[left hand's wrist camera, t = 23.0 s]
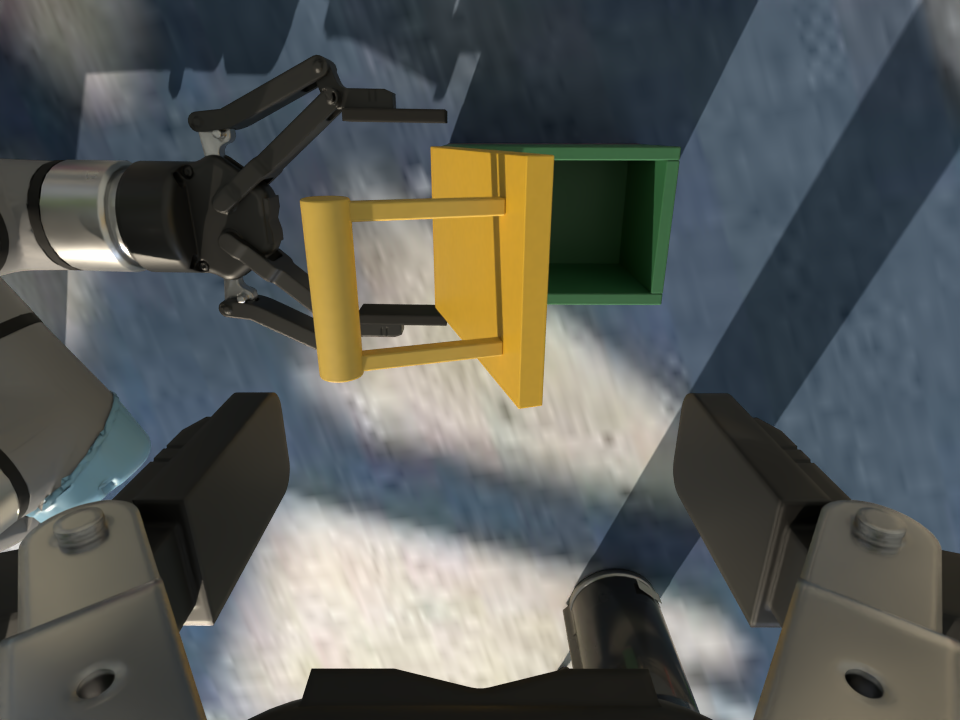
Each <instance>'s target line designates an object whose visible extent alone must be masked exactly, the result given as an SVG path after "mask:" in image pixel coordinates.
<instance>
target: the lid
mask: <svg viewBox="0 0 960 720" xmlns="http://www.w3.org/2000/svg"><path fill="white" fill-rule="evenodd" d="M553 172H554V155H548V154H535V153H523V152H511V151H498V150H486V149H474V148H462V147H449V146H431V175H432V198H427V199H394V200H361V201H350V199H349V198H348V197H344V196H313V197H305V198H302V199H300V206H301V215H302V223H303V232H304V241H305V250H306V258H307V267H308V276H309V285H310V293H311V302H312V311H313V320H314V328H315V337H316V346H317V355H318V363H319V372H320V377H321V378H322V379H323V380H325V381H328V382H348V381H352V380H355V379H357V378H359V377H361V376H362V375H363V373H364V371H369V370H378V369H387V368H396V367H405V366H413V365H422V364H431V363H440V362H449V361H457V360H466V359H475V358H477V359H478V360H479V361H480V362H481V364H482V365H483V366H484V367H485V368H486V370H487V371H488V372H489V373H490V374H491V376H492V377H493V378H494V379H495V381H496V382H497V383H498V384H499V385H500V387H501V388H502V389H503V390H504V391H505V393H506V394H507V395H508V396H509V398H510V399H511V400H512V401H513V402H514V404H515V405H516V406H517V407H518V408H519V409H521V408H528V407H535V406H541V405H542V398H543V377H544V356H545V336H546V315H547V295H548V274H549V254H550V233H551V213H552V192H553ZM412 219H433V245H434V279H435V308H436V309H437V310H438V311H439V313H440V314H441V315H442V316H443V317H444V319H445V320H446V321H447V322H448V323H449V325H450V326H451V327H452V328H453V330H454V331H455V332H456V333H457V334H458V336H459V337H460V338H461V339H462V340H461V341H451V342H441V343H432V344H422V345H412V346H403V347H393V348H383V349H373V350H364V351H362V343H361V330H360V318H359V306H358V294H357V282H356V269H355V257H354V245H353V233H352V222H362V221H387V220H412Z"/></svg>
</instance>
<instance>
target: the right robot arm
mask: <svg viewBox="0 0 960 720" xmlns="http://www.w3.org/2000/svg"><path fill="white" fill-rule="evenodd" d="M316 88H319V90H320V94H319V95H318V96H317V97H316V98H315V99H314V100H313V101H312V102H311V103H310V104H309V105H308V106H307V107H306V108H305V109H304V110H303V111H302V112H301V113H300V114H299V115H298V116H297V117H296V118H295V119H294V120H293V121H292V122H291V123H290V124H289V125H288V126H287V127H286V128H285V129H284V130H283V131H282V132H281V133H280V134H279V135H278V136H277V137H276V138H275V139H274V140H273V141H272V142H271V143H270V144H269V145H268V146H267V147H266V148H265V149H264V150H263V151H262V152H261V153H260V154H259V155H258V156H257V157H255V158H253V159H252V160H251V161H250V162H249V163H248V164H247V165H246V166H245V167H243V166H242V165H241V164H239V163H238V162H236V161H235V160H233V159H232V158H231V157H229V156H227V155H225V148H226V146H227V145H228V144H230V143H232V142H233V141H234V140H235V138H236V132H235V130H238V129H242V128H245V127H248V126H250V125H252V124H254V123H256V122H257V121H259V120H261V119H263V118H264V117H266V116H268V115H270V114H272V113H273V112H275V111H277V110H279V109H280V108H282V107H284V106H286V105H288V104H289V103H291V102H293V101H295V100H296V99H298V98H300V97H302V96H304V95H305V94H307V93H309V92H311V91H312V90H314V89H316ZM341 112H342V119H343V121H351V122H407V123H447V111H446V110H445V109H396V98H395V94H394V93H392V92H390V91H388V90H385V89H359V88H345V87H344V86H343V85H342V83H341V81H340V79H339V76H338V74H337V68H336V65H335V64H334V63H333V62H332V61H330V60H328V59H326V58H324V57H322V56H320V55H314V56H312V57H310V58H308V59H307V60H305V61H303V62H301V63H300V64H298V65H296V66H294V67H293V68H291V69H289V70H287V71H286V72H284V73H282V74H281V75H279V76H277V77H275V78H274V79H272V80H270V81H268V82H267V83H265V84H263V85H261V86H260V87H258V88H256V89H254V90H253V91H251V92H249V93H247V94H246V95H244V96H242V97H240V98H239V99H237V100H235V101H233V102H232V103H230V104H228V105H226V106H225V107H223V108H221V109H215V110H206V111H197V112H193V113H191V114H190V115H189V118H188V123H189V125H190V127H191V128H192V129H193V130H194V131H196V132H199V135H200V139H201V143H202V147H203V150H204V154H205V157H204V158H202V159H201V160H199V161H196V162H185V161H137V162H135V163H131V162H129V161H116V160H55V161H44V160H20V159H0V276H3V275H6V274H10V273H13V272H19V271H27V270H89V271H124V272H141V271H145V270H149V271H152V272H194V273H213V274H216V275H218V276H220V277H222V278H224V287H225V300H224V301H223V302H221V303H220V305H219V311H220V313H221V314H222V315H224V316H226V317H231V318H240V319H248V320H252V321H254V322H257V323H259V324H261V325H263V326H265V327H267V328H270V329H272V330H274V331H276V332H278V333H281V334H283V335H285V336H287V337H289V338H291V339H294V340H296V341H298V342H300V343H302V344H305V345H307V346H309V347H311V348H313V349H315V350H317V346H316V337H315V328H314V320H313V318H312V317H310V316H308V315H306V314H304V313H302V312H299V311H297V310H295V309H293V308H291V307H289V306H287V305H284V304H282V303H280V302H278V301H276V300H274V299H271V298H269V297H266V296H262V295H258V293H257V290H256V289H255V288H253V287H251V286H248V285H247V284H246V283H245V282H244V280H243V276H244V275H246V274H248V273H249V272H250V271H251V270H253V271H254V272H255V273H256V274H258V275H259V276H260V277H262V278H263V279H264V280H266V281H268V282H272V283H274V284H276V285H277V286H278V287H280V288H281V289H282V290H284V291H285V292H286V293H287V294H289V295H290V296H291V297H293V298H294V299H295V300H297V301H298V302H299V303H301V304H302V305H303V306H304V307H306V308H307V309H308V310H310V311H311V312H312V313H313V311H312V302H311V293H310V285H309V276H308V274H307V273H306V272H304V271H303V270H302V269H301V268H299V267H298V266H297V265H295V264H294V263H293V260H292V259H291V258H290V257H289V256H288V255H287V254H285V253H284V252H283V251H282V250H280V249H279V246H280V243H281V240H283V231H282V227H281V224H280V222H279V219H278V214H279V207H280V205H279V196H278V195H275V193H274V191H273V189H272V188H271V187H270V185H269V184H270V183H271V182H272V181H273V180H274V179H275V178H276V177H277V176H278V175H279V174H280V173H281V172H282V171H283V169H284V168H285V167H286V166H287V165H288V164H289V163H290V162H291V161H292V160H293V159H294V158H295V157H296V156H297V155H298V154H299V153H300V152H301V151H302V150H303V149H304V148H305V147H306V146H307V145H308V144H309V143H310V142H311V141H312V140H313V139H314V138H315V137H317V136H318V135H319V134H320V133H321V132H322V131H323V130H324V129H325V128H326V127H327V126H328V125H329V124H330V123H331V122H332V121H333V120H334V119H335V118H336V117H337V116H338V115H339V114H340V113H341ZM359 318H360V330H361V337H364V336H366V337H396V336H399V335H402V332H403V330H404V325H440V326H447V321H446V320H445V319H444V317H443V316H442V315H441V314H440V313H439V311H438V310H437V309H436V308H435V305H405V304H363V305H362V307H361V308H360V310H359ZM150 450H151V441H150V438H149V436H148V435H147V434H146V432H145V431H144V430H143V429H142V428H141V426H140V425H139V424H138V423H137V422H136V420H135V419H134V418H133V417H132V416H131V414H130V413H129V412H128V411H127V410H126V408H125V407H124V406H123V405H122V404H121V402H120V401H119V398H118V397H117V395H116V394H115V393H113V392H112V391H109V390H108V389H107V388H106V387H105V386H104V385H103V384H102V383H101V382H100V381H99V380H98V379H97V378H96V377H95V376H94V375H93V374H92V373H91V372H90V371H89V370H88V369H87V368H86V367H85V365H84V364H83V363H82V362H81V361H80V360H79V359H78V358H77V357H76V356H75V355H74V354H73V353H72V352H71V351H70V350H69V349H68V348H67V347H66V346H65V345H64V344H63V343H62V342H61V341H60V340H59V339H58V338H57V337H56V336H55V335H54V334H53V333H52V332H51V331H50V330H49V329H48V328H47V327H46V326H45V325H44V324H43V322H42V321H41V320H40V319H39V318H38V317H37V316H36V315H35V313H34V312H33V311H32V310H31V309H30V308H29V307H28V306H27V305H26V304H25V302H24V301H23V300H22V299H21V298H20V297H19V296H18V295H17V294H16V293H15V292H14V291H13V290H12V289H11V288H10V287H9V285H8V284H7V283H6V282H5V281H4V280H3V279H2V278H1V277H0V552H1V551H3V550H5V549H7V548H10V547H12V546H14V545H15V544H17V543H19V542H20V541H22V540H23V539H24V538H25V536H26V535H27V534H28V533H29V532H30V531H31V530H32V529H34V528H35V527H36V526H38V525H39V524H40V523H42V522H44V521H45V520H47V519H48V518H50V517H52V516H54V515H56V514H58V513H60V512H63V511H65V510H67V509H70V508H73V507H76V506H79V505H82V504H86V503H90V502H95V501H100V500H101V499H103V498H104V497H105V496H106V495H107V494H108V493H109V492H111V491H112V490H113V489H114V488H116V487H117V486H119V485H120V484H122V483H123V482H124V481H125V480H126V479H128V478H129V477H130V476H131V475H132V474H133V473H134V472H135V471H136V470H137V469H138V468H139V467H140V466H141V465H142V464H143V463H144V462H145V460H146V459H147V457H148V456H149V453H150Z"/></svg>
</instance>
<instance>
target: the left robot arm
mask: <svg viewBox="0 0 960 720" xmlns="http://www.w3.org/2000/svg"><path fill="white" fill-rule="evenodd" d="M289 473H290V464H289V456H288V449H287V442H286V436H285V429H284V422H283V415H282V409H281V403H280V400H279V397H278V396H277V394H276V393H234V394H233V395H231V397H230V398H229V399H228V400H227V401H226V402H225V403H224V404H223V405H222V406H221V407H220V408H219V409H218V410H217V411H216V412H215V413H214V414H213V415H212V416H211V417H205V418H203V419H201V420H200V421H198V422H196V423H194V424H192V425H191V426H189V427H187V428H185V429H183V430H182V431H181V432H180V433H179V434H178V435H177V436H176V437H175V438H174V439H173V440H172V441H171V442H170V443H169V444H168V445H167V448H166V449H163V450H162V451H161V452H160V453H159V454H158V455H157V456H156V457H155V458H154V461H153V462H150V463H149V464H148V465H147V466H146V467H145V468H144V469H143V470H141V471H140V472H139V473H138V474H137V475H136V476H135V477H134V478H133V479H132V480H131V481H130V482H129V483H128V484H127V485H126V486H125V487H124V488H123V489H122V490H121V491H120V492H119V493H118V494H117V495H116V496H115V497H114V498H113V499H112V500H103V501H95V502H90V503H86V504H82V505H79V506H76V507H73V508H70V509H67V510H65V511H63V512H60V513H58V514H56V515H54V516H52V517H50V518H48V519H47V520H45V521H44V522H42V523H40V524H39V525H38V526H36V527H35V528H34V529H32V530H31V531H30V532H29V533H28V534H27V535H26V536H25V538H24V539H23V540H22V542H21V544H20V546H19V549H18V550H13V551H7V552H2V553H0V720H207V719H206V716H205V712H204V709H203V706H202V703H201V700H200V697H199V693H198V690H197V687H196V684H195V681H194V678H193V675H192V671H191V668H190V665H189V662H188V659H187V656H186V652H185V649H184V646H183V643H182V640H181V637H180V634H179V632H180V630H181V628H182V627H183V625H214V623H215V621H216V620H217V618H218V616H219V614H220V612H221V610H222V609H223V607H224V605H225V603H226V601H227V599H228V598H229V596H230V594H231V592H232V590H233V588H234V587H235V585H236V583H237V581H238V579H239V577H240V575H241V574H242V572H243V570H244V568H245V566H246V564H247V563H248V561H249V559H250V557H251V555H252V553H253V552H254V550H255V548H256V546H257V544H258V542H259V541H260V539H261V537H262V535H263V533H264V531H265V529H266V528H267V526H268V524H269V522H270V520H271V518H272V517H273V515H274V513H275V511H276V509H277V507H278V506H279V504H280V502H281V500H282V498H283V496H284V494H285V492H286V490H287V486H288V482H289ZM673 475H674V483H675V487H676V491H677V493H678V496H679V497H680V499H681V501H682V503H683V505H684V507H685V508H686V510H687V512H688V514H689V516H690V517H691V519H692V521H693V523H694V525H695V527H696V528H697V530H698V532H699V534H700V536H701V537H702V539H703V541H704V543H705V545H706V547H707V548H708V550H709V552H710V554H711V556H712V557H713V559H714V561H715V563H716V565H717V566H718V568H719V570H720V572H721V574H722V576H723V577H724V579H725V581H726V583H727V585H728V586H729V588H730V590H731V592H732V594H733V596H734V597H735V599H736V601H737V603H738V605H739V606H740V608H741V610H742V612H743V614H744V616H745V617H746V619H747V621H748V623H749V625H750V626H751V627H782V630H781V634H780V637H779V640H778V643H777V646H776V649H775V652H774V656H773V659H772V662H771V665H770V668H769V671H768V675H767V678H766V681H765V684H764V687H763V690H762V693H761V697H760V700H759V703H758V706H757V709H756V712H755V716H754V719H753V720H960V554H959V553H954V552H948V551H944V550H941V546H940V544H939V542H938V540H937V539H936V538H935V536H934V535H933V534H932V533H931V532H930V531H929V530H928V529H926V528H925V527H924V526H922V525H921V524H920V523H918V522H916V521H915V520H913V519H912V518H910V517H908V516H906V515H904V514H902V513H900V512H897V511H895V510H893V509H890V508H887V507H884V506H881V505H878V504H874V503H870V502H865V501H857V500H851V499H850V498H849V497H848V496H847V495H846V494H845V493H844V492H843V491H842V490H841V489H840V488H839V487H838V486H837V485H836V484H835V483H834V482H833V481H832V480H831V479H830V478H829V477H828V476H827V475H826V474H825V473H824V472H823V471H822V470H821V469H820V468H819V467H818V466H816V465H815V464H814V463H811V462H810V459H809V458H808V457H807V456H806V455H805V454H804V453H803V452H802V451H801V450H797V446H796V445H795V444H794V443H793V442H792V441H791V440H790V439H789V438H788V437H787V436H786V435H785V434H784V433H783V432H782V431H780V430H779V429H777V428H775V427H773V426H771V425H769V424H768V423H766V422H764V421H762V420H760V419H759V418H752V417H751V416H750V415H749V414H748V413H747V411H746V410H745V409H744V408H743V407H742V406H741V405H740V404H739V403H738V402H737V401H736V400H735V399H734V398H733V397H732V396H731V395H730V394H728V393H689V394H687V395H686V397H685V398H684V401H683V404H682V410H681V416H680V423H679V430H678V436H677V443H676V450H675V456H674V464H673ZM658 601H659V602H660V603H661V600H660V598H659V595H658V593H656V592H655V591H654V589H653V587H652V585H651V584H650V583H649V581H648V580H646V579H645V578H644V577H642V576H641V575H639V574H637V573H634V572H632V571H628V570H621V569H612V570H605V571H601V572H598V573H595V574H593V575H591V576H589V577H587V578H586V579H584V580H583V581H582V582H580V583H579V584H578V585H577V587H576V588H575V589H574V591H573V592H572V594H571V597H570V601H569V605H568V607H566V608H565V609H564V610H563V615H564V620H565V626H566V632H567V638H568V643H569V649H570V655H571V661H572V666H573V669H569V668H568V667H563V668H561V669H559V670H558V671H554V672H550V673H546V674H542V675H538V676H534V677H530V678H526V679H522V680H518V681H513V682H509V683H505V684H501V685H497V686H493V687H489V688H471V687H467V686H463V685H459V684H455V683H451V682H447V681H442V680H438V679H434V678H430V677H426V676H422V675H418V674H414V673H410V672H406V671H402V670H398V669H311V672H310V675H309V679H308V682H307V685H306V688H305V691H304V694H303V698H302V699H299V700H295V701H291V702H288V703H286V704H283V705H280V706H277V707H274V708H272V709H269V710H267V711H265V712H263V713H261V714H258V715H256V716H254V717H252V718H250V719H248V720H712V719H710V718H708V717H706V716H704V715H702V714H700V712H699V710H698V707H697V704H696V702H695V699H694V696H693V694H692V691H691V689H690V686H689V683H688V681H687V678H686V675H685V673H684V670H683V667H682V665H681V662H680V659H679V657H678V654H677V651H676V649H675V646H674V644H673V641H672V638H671V636H670V633H669V630H668V628H667V625H666V622H665V620H664V617H663V614H662V612H661V609H660V605H659V603H658ZM661 604H662V603H661Z"/></svg>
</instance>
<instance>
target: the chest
mask: <svg viewBox="0 0 960 720" xmlns="http://www.w3.org/2000/svg"><path fill="white" fill-rule="evenodd" d="M444 146H449V147H462V148H474V149H486V150H498V151H511V152H523V153H535V154H548V155H554V172H553V192H552V213H551V233H550V254H549V274H548V295H547V304H573V305H660V304H661V301H662V293H663V286H664V278H665V270H666V263H667V255H668V247H669V239H670V231H671V223H672V216H673V208H674V200H675V192H676V184H677V176H678V169H679V161H678V160H679V159H680V152H681V147H676V146H660V145H645V144H486V143H449V144H447V145H444Z"/></svg>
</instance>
